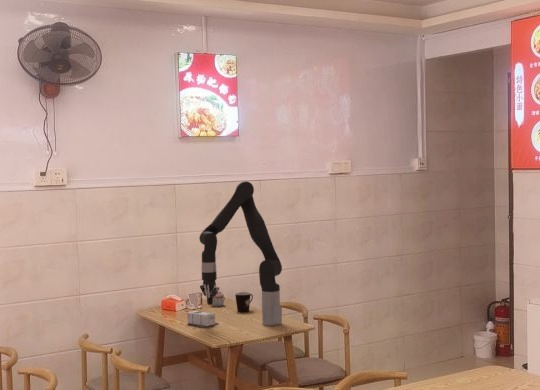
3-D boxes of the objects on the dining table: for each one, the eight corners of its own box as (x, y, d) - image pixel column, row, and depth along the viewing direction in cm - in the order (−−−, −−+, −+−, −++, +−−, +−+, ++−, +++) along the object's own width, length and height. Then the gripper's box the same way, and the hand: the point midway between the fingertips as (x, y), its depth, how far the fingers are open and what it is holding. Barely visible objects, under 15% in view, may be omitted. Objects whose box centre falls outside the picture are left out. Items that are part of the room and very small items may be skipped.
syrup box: (207, 315, 353) (187, 311, 362) (207, 326, 353) (187, 323, 362) (215, 313, 358) (195, 310, 367) (215, 324, 358) (195, 321, 367)
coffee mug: (238, 313, 386) (238, 295, 386) (233, 310, 394) (232, 293, 394) (258, 311, 391) (257, 293, 390) (252, 308, 399) (252, 291, 398)
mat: (218, 324, 361) (218, 323, 361) (202, 327, 353) (202, 326, 353) (203, 320, 369) (203, 320, 369) (187, 324, 361) (187, 323, 361)
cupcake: (211, 304, 414) (210, 287, 414) (226, 304, 413) (226, 287, 413) (208, 307, 405) (207, 290, 405) (224, 307, 404) (223, 290, 404)
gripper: (223, 271, 354) (224, 305, 354) (206, 268, 363) (207, 302, 364) (211, 272, 348) (212, 307, 349) (195, 270, 358) (195, 304, 358)
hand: (209, 304), depth 356 cm, fingers closed
